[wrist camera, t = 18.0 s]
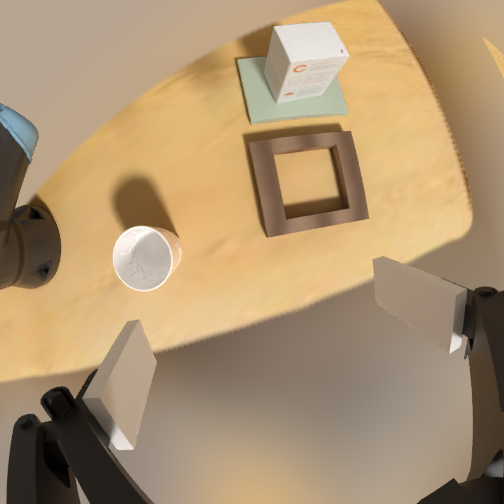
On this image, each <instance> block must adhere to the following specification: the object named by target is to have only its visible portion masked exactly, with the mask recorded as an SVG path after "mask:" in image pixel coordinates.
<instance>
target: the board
mask: <svg viewBox="0 0 504 504" xmlns="http://www.w3.org/2000/svg"><path fill="white" fill-rule="evenodd" d="M266 60H267V56H264V57H254V58H245V59H238V63H237V64H238V68H239V73H240V77H241V82H242V86H243V91H244V95H245V100H246V105H247V109H248V114H249V119H250V123H251V125H254V124H261V123H269V122H277V121H285V120H294V119H305V118H317V117H332V116H346V115H347V114H348V109H347V106H346V102H345V99H344V96H343V93H342V89H341V86H340V83H339V80H338V77H337V74H336V76H335V77H334V79H333V80H332V81H331V83H330V84H329V86H328V87H327V88H326V90H325V91H324V93H323V94H322V95H321V96H315V97H310V98H304V99H299V100H294V101H289V102H284V103H279V104H276V102H275V99H274V97H273V94H272V92H271V89H270V87H269V84H268V82H267V79H266V77H265V74H264V70H265V65H266Z"/></svg>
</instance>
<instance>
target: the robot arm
mask: <svg viewBox="0 0 504 504" xmlns="http://www.w3.org/2000/svg"><path fill="white" fill-rule="evenodd" d="M37 141H38V131H37V129H36V127H35V126H34V125H33V124H32V123H31V122H30V121H29V120H27V119H26V118H25V117H23V116H22V115H20V114H19V113H17V112H16V111H14V110H13V109H11V108H9V107H7V106H4V105H3V104H1V103H0V290H1V289H4V288H7V287H10V286H15V287H21V288H26V289H35V288H38V287H41V286H43V285H45V284H47V283H48V282H50V280H51V279H52V278H53V277H54V275H55V273H56V271H57V269H58V266H59V262H60V255H61V243H60V236H59V232H58V228H57V226H56V223H55V221H54V219H53V218H52V216H51V215H50V214H49V213H48V211H46V210H45V209H44V208H42V207H40V206H37V205H23V206H20V207H18V208H16V209H15V206H16V203H17V199H18V196H19V192H20V189H21V186H22V183H23V180H24V177H25V174H26V171H27V168H28V166H29V164H31V162H32V155H33V152H34V149H35V147H36V144H37ZM373 268H374V280H375V293H376V304H378V305H379V306H381V307H382V308H384V309H385V310H387V311H388V312H390V313H391V314H393V315H394V316H396V317H397V318H399V319H400V320H402V321H403V322H404V323H406V324H407V325H409V326H410V327H412V328H413V329H415V330H416V331H418V332H419V333H421V334H422V335H424V336H425V337H426V338H428V339H429V340H431V341H432V342H434V343H435V344H436V345H438V346H439V347H441V348H442V349H444V350H445V351H446V352H448V353H451V352H453V351H454V350H456V349H457V348H459V347H460V346H461V341H462V334H463V335H465V336H467V337H468V340H467V346H466V351H465V356H464V359H466V357H467V355H468V358H469V366H470V375H471V386H472V404H473V446H472V461H471V469H470V472H469V475H468V477H467V480H466V481H465V482H462V483H459V484H458V483H457V481H456V480H455V479H454V478H453V479H452V480H450V481H449V482H448V483H446V484H445V485H443V486H442V487H440V488H439V489H437V490H436V491H434V492H433V493H431V494H430V495H428V496H427V497H425V498H423V499H421V500H420V501H419V502H418V503H417V504H504V291H500V292H498V291H497V290H496V289H495V288H492V287H479V288H476V289H475V290H474V291H472V290H470V289H468V288H465V287H463V286H460V285H456V284H455V283H453V282H450V281H448V280H445V279H443V278H439V277H436V276H434V275H431V274H429V273H426V272H423V271H421V270H418V269H415V268H413V267H411V266H408V265H405V264H403V263H400V262H397V261H395V260H392V259H389V258H387V257H384V256H383V257H379V258H376V259H373ZM156 364H157V362H156V359H155V357H154V355H153V352H152V350H151V347H150V345H149V343H148V340H147V338H146V335H145V333H144V330H143V327H142V325H141V322H140V319H139V320H134V321H129V322H127V323H126V324H125V326H124V327H123V329H122V331H121V332H120V334H119V336H118V337H117V339H116V340H115V342H114V344H113V345H112V347H111V349H110V350H109V352H108V354H107V355H106V357H105V359H104V360H103V362H102V364H101V366H100V367H99V369H96V370H95V371H93V372H92V373H91V374H90V375H89V376H88V378H87V380H86V381H85V384H84V385H83V386H82V389H81V390H80V392H79V393H78V395H77V397H76V399H74V398H73V396H72V394H71V393H70V391H69V389H68V388H66V387H63V386H61V387H56V388H53V389H51V390H49V391H48V392H46V393H45V394H44V395H43V397H42V398H41V405H42V406H43V408H44V409H45V411H46V412H47V414H48V415H49V416H50V418H51V420H52V421H48V422H43V423H41V422H40V420H39V419H38V418H37V416H36V415H34V414H27V415H23V416H21V418H19V419H18V420H17V421H16V423H15V425H14V428H13V434H12V440H11V447H10V455H9V464H8V476H7V504H80V499H79V495H78V490H77V484H76V479H75V476H76V478H77V480H78V482H79V484H80V486H81V488H82V490H83V492H84V493H85V495H86V497H87V499H88V501H89V502H90V504H154V503H153V502H152V501H151V500H150V499H149V498H148V496H147V495H146V494H145V493H144V492H143V491H142V490H141V489H140V487H139V486H138V485H137V484H136V483H135V481H134V480H133V479H132V478H131V477H130V475H129V474H128V473H127V472H126V470H125V469H124V468H123V466H122V465H121V464H120V463H119V461H118V460H117V458H116V457H115V456H114V454H113V453H112V452H111V450H110V449H109V448H108V446H109V443H110V440H111V442H112V443H113V444H114V446H115V447H116V448H117V449H118V450H134V449H135V444H136V440H137V436H138V432H139V428H140V423H141V419H142V416H143V412H144V408H145V404H146V400H147V396H148V392H149V388H150V385H151V381H152V378H153V374H154V370H155V367H156Z"/></svg>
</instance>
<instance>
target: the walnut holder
mask: <svg viewBox="0 0 504 504" xmlns="http://www.w3.org/2000/svg"><path fill="white" fill-rule="evenodd" d="M329 148H331V149H332V153H333V158H334V162H335V167H336V171H337V176H338V181H339V186H340V191H341V196H342V202H343V207H344V209H342V210H336V211H331V212H325V213H319V214H313V215H308V216H302V217H296V218H291V219H286V216H285V211H284V206H283V200H282V195H281V190H280V185H279V180H278V175H277V170H276V165H275V160H274V156H273V155H280V154H287V153H294V152H302V151H310V150H319V149H329ZM249 151H250V156H251V161H252V166H253V171H254V176H255V181H256V186H257V191H258V196H259V202H260V207H261V212H262V217H263V223H264V228H265V233H266V237H274V236H279V235H284V234H289V233H295V232H300V231H305V230H310V229H316V228H321V227H326V226H332V225H337V224H343V223H348V222H354V221H359V220H364V219H369V215H368V209H367V203H366V198H365V192H364V187H363V182H362V177H361V172H360V167H359V163H358V158H357V154H356V150H355V146H354V141H353V137H352V134H351V131H343V132H330V133H318V134H308V135H299V136H290V137H282V138H275V139H267V140H261V141H254V142H250V143H249Z"/></svg>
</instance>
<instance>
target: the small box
mask: <svg viewBox="0 0 504 504" xmlns="http://www.w3.org/2000/svg"><path fill="white" fill-rule="evenodd" d="M349 57H350V56H349V54H348V52H347V50H346V48H345V46H344V45H343V43H342V41H341V39H340V37H339V36H338V34H337V32H336V31H335V29H334V27H333V26H332V24H331V23H330V22H313V23H300V24H289V25H280V26H274V27H273V31H272V36H271V41H270V45H269V50H268V55H267V60H266V65H265V70H264V74H265V77H266V79H267V82H268V84H269V87H270V89H271V92H272V94H273V97H274V99H275V102H276V104H279V103H284V102H289V101H294V100H299V99H304V98H310V97H315V96H321V95H322V94H323V93H324V91H325V90H326V88H327V87H328V86H329V84H330V83H331V81H332V80H333V79H334V77H335V76H336V74H337V73H338V72H339V70H340V69H341V68H342V66H343V65H344V63H345V62H346V61H347V59H348V58H349Z"/></svg>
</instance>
